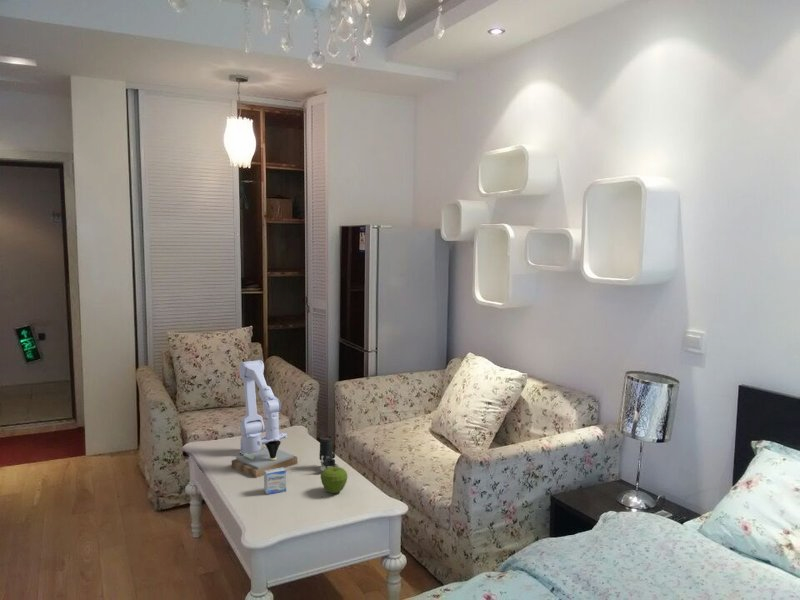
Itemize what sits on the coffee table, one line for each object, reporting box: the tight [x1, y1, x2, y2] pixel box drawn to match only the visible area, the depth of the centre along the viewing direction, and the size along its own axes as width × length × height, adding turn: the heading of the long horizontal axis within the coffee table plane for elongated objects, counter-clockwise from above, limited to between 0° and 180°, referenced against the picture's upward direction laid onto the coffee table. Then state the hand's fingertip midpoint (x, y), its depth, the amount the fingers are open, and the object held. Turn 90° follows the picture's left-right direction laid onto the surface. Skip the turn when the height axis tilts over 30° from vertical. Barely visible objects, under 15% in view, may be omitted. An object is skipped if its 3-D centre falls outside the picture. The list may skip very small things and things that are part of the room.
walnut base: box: [231, 455, 298, 478], centre depth 269 cm, size 18×22×3 cm
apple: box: [320, 466, 349, 494], centre depth 240 cm, size 11×10×10 cm
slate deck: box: [235, 447, 295, 469], centre depth 269 cm, size 17×19×3 cm
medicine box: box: [263, 467, 287, 495], centre depth 241 cm, size 8×4×9 cm, turn 117°
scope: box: [319, 435, 340, 473], centre depth 264 cm, size 8×14×10 cm
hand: (272, 457), depth 265 cm, fingers closed, pressing on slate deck
